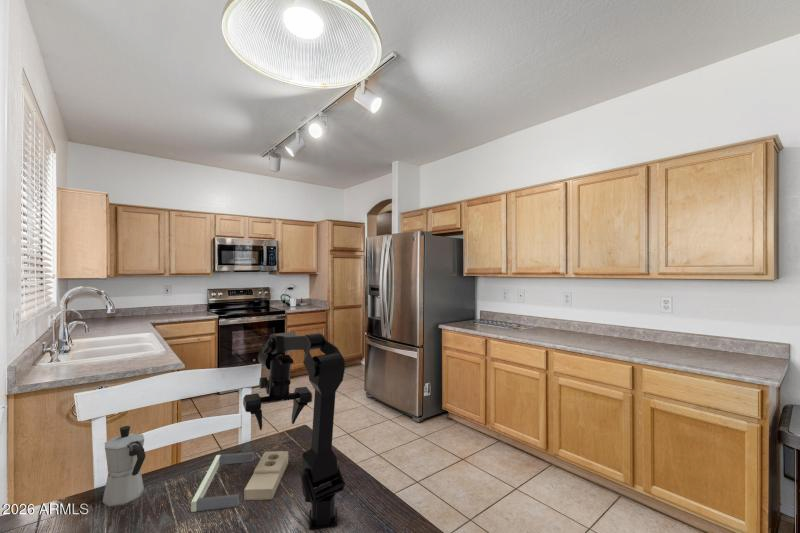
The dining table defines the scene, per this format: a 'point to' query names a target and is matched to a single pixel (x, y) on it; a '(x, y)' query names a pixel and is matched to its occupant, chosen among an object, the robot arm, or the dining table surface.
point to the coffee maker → (124, 468)
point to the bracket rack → (217, 501)
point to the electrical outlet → (266, 476)
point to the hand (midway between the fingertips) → (276, 426)
